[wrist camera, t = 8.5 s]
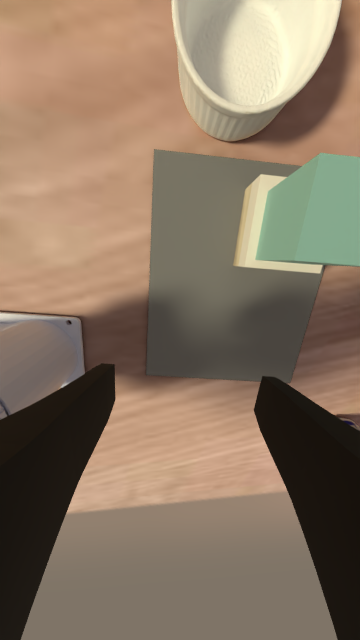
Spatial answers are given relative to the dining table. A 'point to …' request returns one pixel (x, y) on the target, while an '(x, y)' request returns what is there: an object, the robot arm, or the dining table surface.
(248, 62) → the ramekin
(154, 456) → the dining table surface
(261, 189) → the tower top
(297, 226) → the block
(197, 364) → the mat
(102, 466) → the dining table surface
